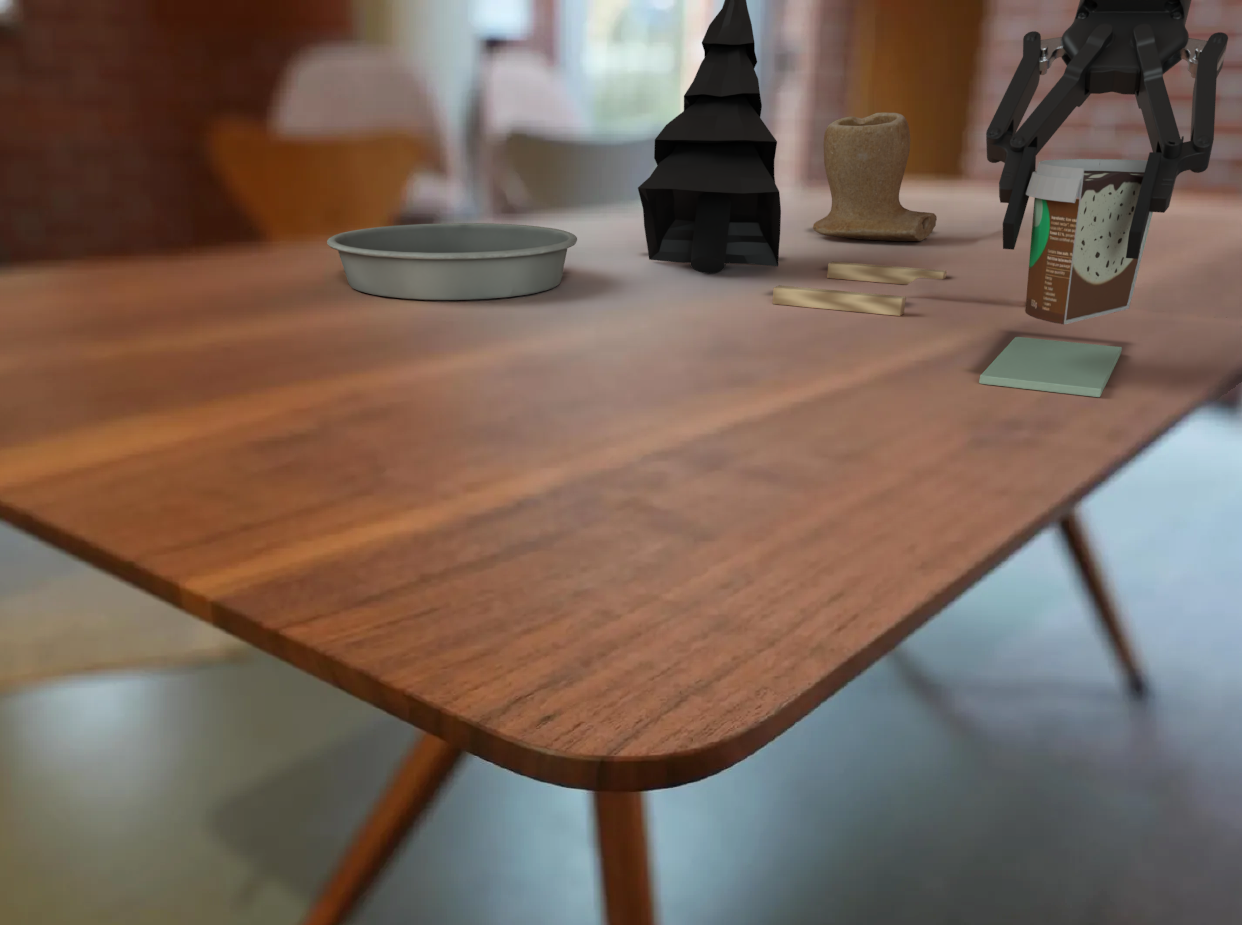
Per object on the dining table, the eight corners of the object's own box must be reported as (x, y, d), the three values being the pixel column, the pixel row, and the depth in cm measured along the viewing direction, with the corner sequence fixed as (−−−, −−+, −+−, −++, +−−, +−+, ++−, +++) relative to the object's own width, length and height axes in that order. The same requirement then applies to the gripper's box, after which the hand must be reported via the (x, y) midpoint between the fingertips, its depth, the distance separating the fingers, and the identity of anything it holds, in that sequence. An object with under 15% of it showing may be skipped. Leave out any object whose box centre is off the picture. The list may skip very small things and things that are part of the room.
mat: (1120, 354, 91) (1122, 346, 90) (1099, 397, 79) (1101, 388, 78) (1014, 344, 94) (1015, 336, 94) (978, 383, 82) (979, 375, 81)
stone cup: (803, 243, 147) (814, 113, 141) (819, 232, 157) (830, 110, 151) (926, 249, 143) (943, 115, 136) (935, 237, 153) (950, 112, 146)
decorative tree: (776, 300, 129) (804, 16, 135) (777, 231, 115) (807, -83, 120) (645, 294, 131) (677, 15, 137) (629, 226, 117) (666, -82, 122)
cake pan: (548, 261, 131) (547, 218, 129) (604, 299, 110) (604, 249, 108) (325, 267, 126) (321, 223, 124) (338, 309, 104) (333, 256, 102)
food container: (1062, 295, 91) (1086, 156, 86) (1138, 306, 86) (1168, 161, 82) (973, 314, 83) (994, 163, 79) (1052, 327, 79) (1079, 168, 75)
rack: (945, 285, 119) (947, 270, 118) (900, 316, 104) (902, 298, 103) (830, 276, 124) (832, 261, 123) (772, 303, 109) (773, 287, 108)
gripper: (1285, 25, 85) (1225, 288, 79) (997, 25, 93) (924, 264, 87) (1308, -67, 78) (1245, 213, 72) (996, -59, 86) (916, 194, 80)
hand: (1069, 240), depth 79 cm, fingers closed on food container, 7 cm apart
